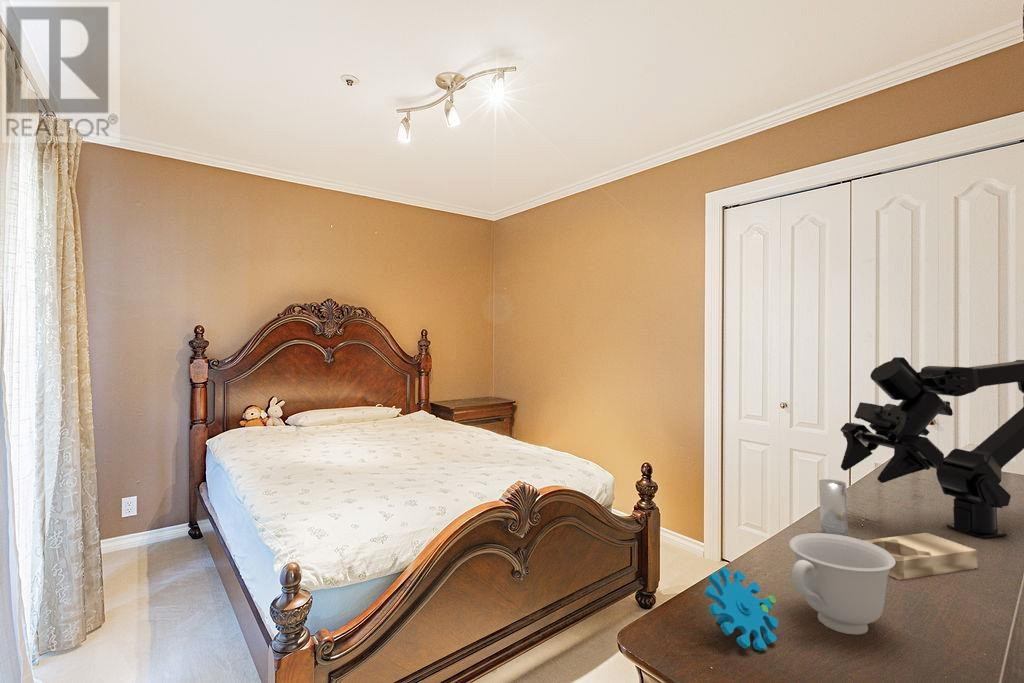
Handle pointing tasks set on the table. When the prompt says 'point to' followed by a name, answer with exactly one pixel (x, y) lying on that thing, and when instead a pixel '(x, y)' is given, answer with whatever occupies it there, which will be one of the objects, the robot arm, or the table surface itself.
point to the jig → (926, 555)
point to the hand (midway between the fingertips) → (860, 474)
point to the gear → (741, 609)
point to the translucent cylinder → (833, 507)
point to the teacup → (841, 579)
